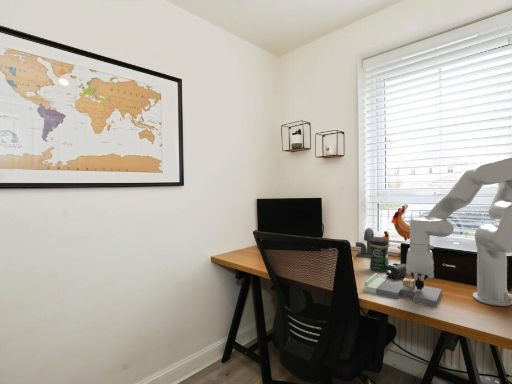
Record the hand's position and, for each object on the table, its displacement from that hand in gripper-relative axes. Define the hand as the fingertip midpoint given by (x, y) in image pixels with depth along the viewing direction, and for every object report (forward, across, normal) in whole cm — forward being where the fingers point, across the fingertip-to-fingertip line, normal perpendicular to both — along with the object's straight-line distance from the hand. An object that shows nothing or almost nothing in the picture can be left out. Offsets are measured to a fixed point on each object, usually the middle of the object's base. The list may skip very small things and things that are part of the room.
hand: (419, 288), depth 125 cm
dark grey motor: (+4, +14, -21) cm, 26 cm away
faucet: (+4, +37, -51) cm, 64 cm away
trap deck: (+4, +7, 0) cm, 8 cm away
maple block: (+1, +4, 0) cm, 4 cm away
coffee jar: (+4, +25, -28) cm, 38 cm away
